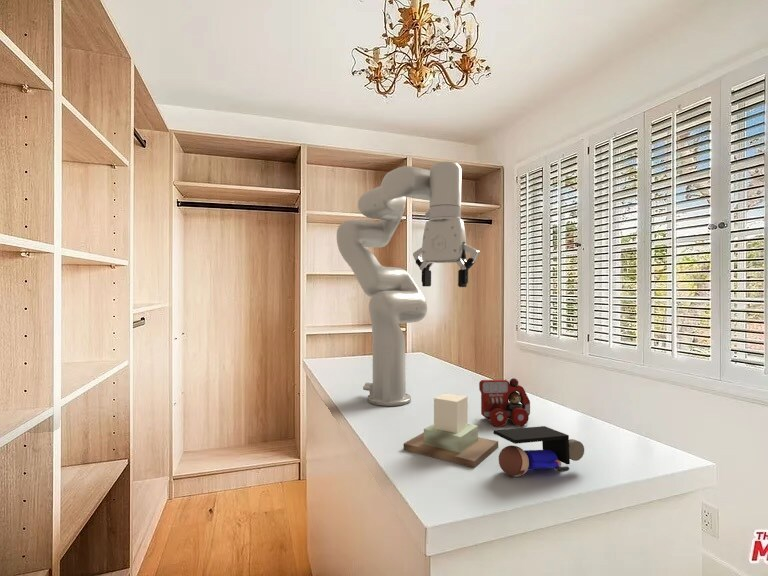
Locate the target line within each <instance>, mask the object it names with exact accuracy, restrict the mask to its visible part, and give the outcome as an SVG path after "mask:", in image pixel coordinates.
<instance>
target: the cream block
mask: <svg viewBox="0 0 768 576" xmlns="http://www.w3.org/2000/svg"><path fill="white" fill-rule="evenodd" d="M468 405H469V404H468V396H467V395H459V394H454V393H448V392H447V393H446V392H444V393H442V394H440V395H438V396H435V397H434V398H433V424H434V429H439V430H444V431H449V432H454V433H458V432H460V431H461V430H463V429H464V428H466V427H467V426H468V424H469V422H468V418H469V417H468V407H469V406H468Z"/></svg>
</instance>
